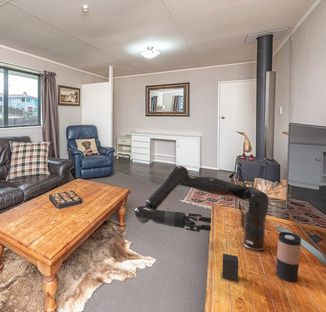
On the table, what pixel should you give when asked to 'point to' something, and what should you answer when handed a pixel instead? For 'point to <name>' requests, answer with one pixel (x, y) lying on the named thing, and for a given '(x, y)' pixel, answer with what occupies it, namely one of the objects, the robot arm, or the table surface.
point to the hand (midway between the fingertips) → (211, 224)
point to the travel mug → (288, 256)
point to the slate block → (230, 267)
